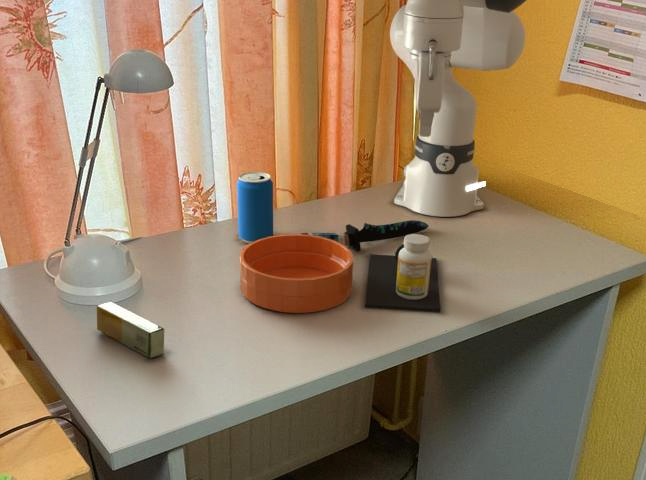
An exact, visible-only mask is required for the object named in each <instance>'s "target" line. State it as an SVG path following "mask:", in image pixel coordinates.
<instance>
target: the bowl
mask: <svg viewBox="0 0 646 480" xmlns="http://www.w3.org/2000/svg"><path fill="white" fill-rule="evenodd" d="M354 259H355V258H354V254H353V253H352V251H351V249H350V248H348V246H345V245H343V244H341V243H339V242H337V241H334V240H331V239H328V238H324V237H319V236H313V235H303V234H301V233H290V234H288V233H287V234H278V235H273V236H270V237H266V238H262V239H259V240H256V241H254V242H252V243H250V244H249V243H247V245H246V246H244V247H243V248H242V249H241V251H240V254H239V272H240V273H239V274H240V277H239V278H240V290H241V294H242V295H243V296H244V297H245V298H246V300H247V301H249V302H251V303H252V304H254V305H256V306H258V307H260V308H263V309H267V310H271V311H276V312H281V313H289V314H306V313H314V312H315V313H316V312H321V311H325V310H326V311H327V310H329V309H331V308H335V307H337V306H340V305H341V304H342V303H344V302H346V301H347V300H348V299H349V298H350V297H351V295H352V292H353V281H354V280H353V278H354V277H353V276H354Z"/></svg>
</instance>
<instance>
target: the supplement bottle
mask: <svg viewBox="0 0 646 480" xmlns="http://www.w3.org/2000/svg"><path fill="white" fill-rule="evenodd" d="M403 244H404V248H402V249H401V250H400V252H399V256H398V268H397V281H396V293H397V294H398V295H399V296H400V297H402V298H405V299H409V300H419V299H422V298H424V297H426V296H427V294H428V288H429V279H430V270H431V262H432V258H433V256H432V255H433V254H432V252H431V251H430V250H429V248H430V238H429V237H428V236H426V235H423V234H420V233H414V234H410V235H406V236H404V238H403Z"/></svg>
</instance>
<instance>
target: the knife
mask: <svg viewBox="0 0 646 480" xmlns="http://www.w3.org/2000/svg"><path fill="white" fill-rule="evenodd" d="M428 228H429V224H427V223H426V222H424V221H421V220H415V219H414V220H412V219H411V220H404V221H398V222H394V223H388V224H378V225H377V224H376V225H375V224H370V223H366V222H364V224H363V226H362V228H361V229H360V230H359V229H358V228H357V227H355V226H353V225H352V224H349V223H348V224H346V225H345V232H302V233H300V234H303V235H313V236H319V237H324V238H328V239H331V240H334V241H337V242H339V243H341V244H343V245H345V246H346V247H349V249H352V250H354V251H356V252H357V253H358V252H361V250H362V248H361V247H362V246H361V244H362V243H372V242H379V241H385V240H393V239H398V238H402V237H405V236H407V235H410V234H418V233H420V232H423V231H424V230H426V229H428Z"/></svg>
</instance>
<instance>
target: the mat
mask: <svg viewBox="0 0 646 480" xmlns="http://www.w3.org/2000/svg"><path fill="white" fill-rule="evenodd" d="M437 260H438V259H437V258H436V257H432V262H431V270H430V279H429V288H428V294H427V296H426V297H424V298H422V299H419V300H409V299H405V298H402V297H400V296H399V295H398V294H397V293H396V281H397V268H398V261H397V260H396V259H395V255H390V254H374V253H373V254H372V253H369V260H368V270H367V281H366V290H365V291H366V292H365V303H364V308H368V309H382V310H383V309H384V310H396V311H397V310H399V311H400V310H401V311H415V312H416V311H417V312H429V313H441V309H442V307H441V296H440V286H439V284H440V283H439V273H438V272H439V271H438V263H437V262H438V261H437Z"/></svg>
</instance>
